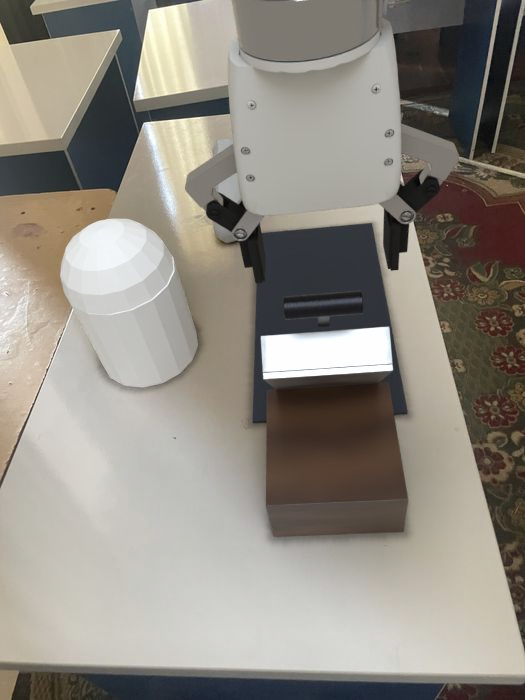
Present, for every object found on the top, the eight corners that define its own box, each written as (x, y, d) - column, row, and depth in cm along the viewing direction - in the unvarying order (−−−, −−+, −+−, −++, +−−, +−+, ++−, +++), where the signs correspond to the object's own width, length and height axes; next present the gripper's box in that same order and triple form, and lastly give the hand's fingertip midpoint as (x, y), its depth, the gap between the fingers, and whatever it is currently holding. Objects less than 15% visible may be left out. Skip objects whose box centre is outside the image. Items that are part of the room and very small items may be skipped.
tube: (248, 224, 87) (243, 140, 103) (213, 219, 86) (213, 135, 102) (242, 251, 91) (238, 166, 107) (209, 247, 90) (209, 162, 106)
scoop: (402, 363, 42) (395, 285, 42) (254, 373, 43) (250, 297, 44) (378, 382, 60) (374, 328, 61) (276, 389, 61) (272, 335, 62)
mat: (407, 414, 65) (407, 412, 65) (253, 423, 67) (252, 421, 67) (371, 224, 89) (371, 222, 89) (258, 235, 91) (258, 233, 91)
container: (92, 390, 74) (25, 274, 59) (111, 317, 82) (57, 200, 68) (193, 384, 72) (151, 264, 57) (202, 310, 81) (167, 189, 66)
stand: (403, 532, 57) (408, 499, 51) (273, 537, 58) (265, 506, 53) (385, 419, 65) (388, 382, 60) (273, 425, 67) (266, 389, 61)
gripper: (462, -36, 31) (434, 222, 44) (155, 11, 33) (214, 244, 46) (498, 15, 26) (454, 288, 39) (134, 66, 28) (207, 310, 41)
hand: (324, 264), depth 42 cm, fingers open, 9 cm apart
